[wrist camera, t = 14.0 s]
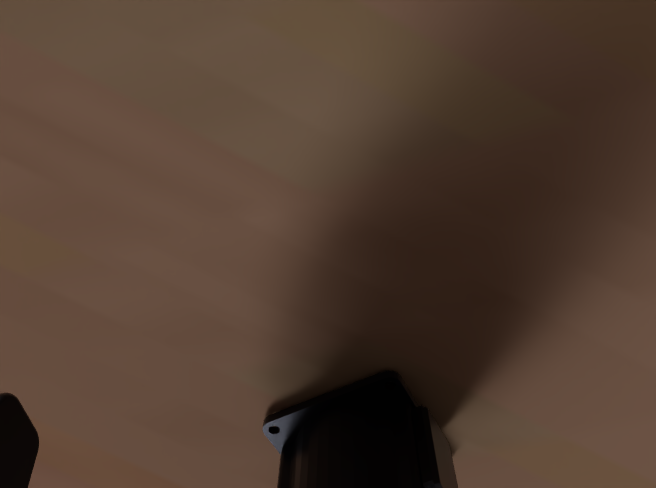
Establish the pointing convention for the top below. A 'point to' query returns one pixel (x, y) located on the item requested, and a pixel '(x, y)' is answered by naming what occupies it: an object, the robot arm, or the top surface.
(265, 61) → the top surface
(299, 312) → the top surface
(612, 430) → the top surface
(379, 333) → the top surface
